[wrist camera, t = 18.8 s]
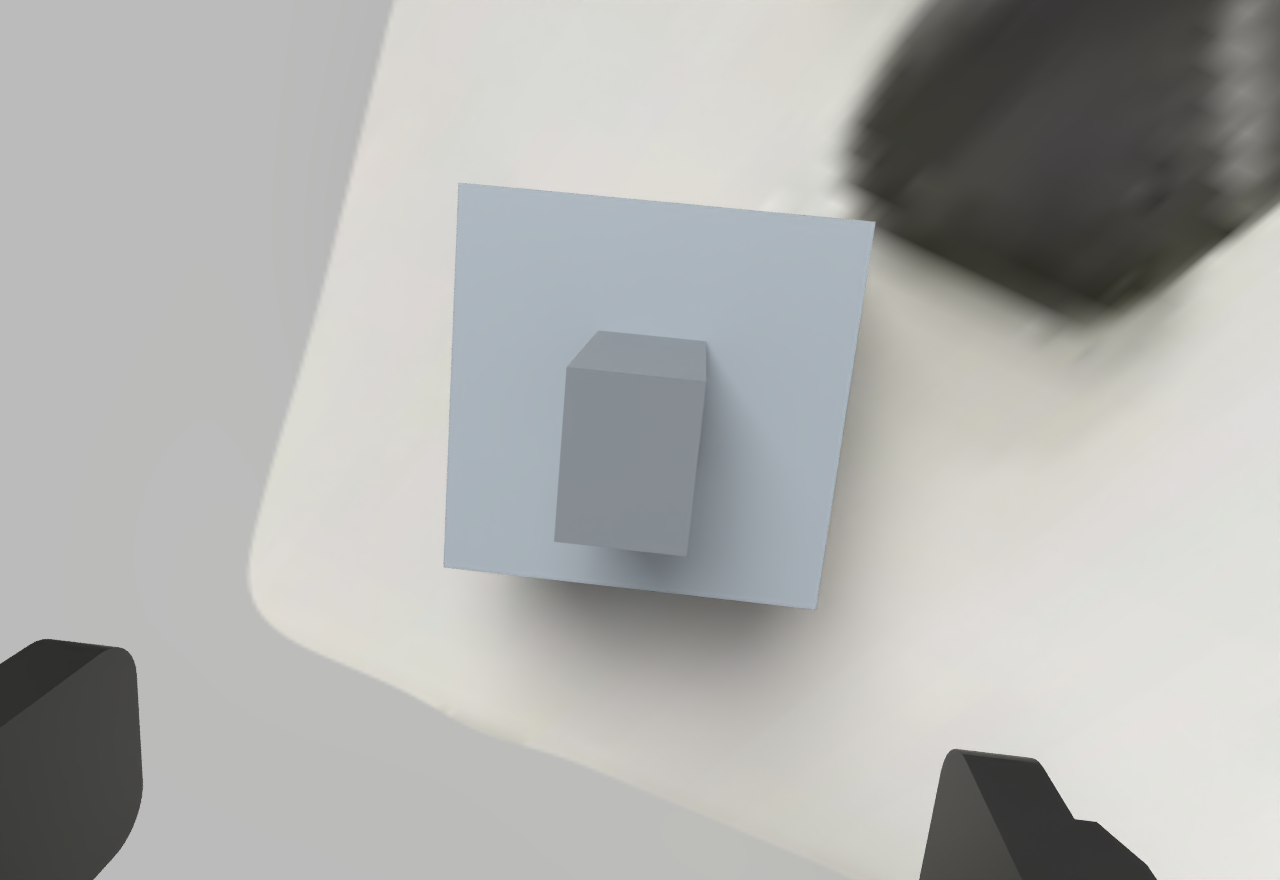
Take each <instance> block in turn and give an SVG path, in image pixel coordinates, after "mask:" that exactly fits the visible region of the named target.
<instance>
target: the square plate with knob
mask: <svg viewBox="0 0 1280 880" xmlns="http://www.w3.org/2000/svg"><path fill="white" fill-rule="evenodd" d="M874 228H875V222H870V221H859V220H849V219H838V218H827V217H817V216H806V215H796V214H785V213H774V212H764V211H753V210H743V209H732V208H722V207H711V206H700V205H690V204H679V203H669V202H658V201H647V200H637V199H626V198H616V197H605V196H594V195H584V194H573V193H563V192H552V191H541V190H531V189H520V188H510V187H499V186H488V185H478V184H467V183H458V208H457V233H456V259H455V285H454V311H453V337H452V362H451V388H450V414H449V440H448V466H447V491H446V517H445V543H444V567H445V568H453V569H462V570H471V571H480V572H489V573H497V574H506V575H515V576H524V577H533V578H542V579H550V580H559V581H568V582H577V583H586V584H594V585H603V586H612V587H621V588H630V589H638V590H647V591H656V592H665V593H674V594H682V595H691V596H700V597H709V598H718V599H726V600H735V601H744V602H753V603H762V604H770V605H779V606H788V607H797V608H806V609H814V610H816V606H817V600H818V593H819V586H820V580H821V573H822V567H823V560H824V554H825V547H826V541H827V534H828V528H829V521H830V515H831V508H832V502H833V495H834V489H835V482H836V476H837V469H838V463H839V456H840V449H841V443H842V436H843V430H844V423H845V417H846V410H847V404H848V397H849V391H850V384H851V378H852V371H853V365H854V358H855V352H856V345H857V339H858V332H859V325H860V319H861V312H862V306H863V299H864V293H865V286H866V280H867V273H868V267H869V260H870V254H871V247H872V241H873V234H874Z"/></svg>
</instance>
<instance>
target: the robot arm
mask: <svg viewBox="0 0 1280 880" xmlns="http://www.w3.org/2000/svg"><path fill="white" fill-rule="evenodd" d="M137 690H138V689H137V674H136V667H135V663H134V660H133V658H132V656H131V655H130V654H129V652H128V651H126V650H125V649H123V648H119V647H111V646H103V645H95V644H86V643H78V642H70V641H61V640H52V639H42V640H39V641H36V642H34V643H32V644H30V645H29V646H27V647H26V648H24V649H23V650H21V651H19V652H18V653H17V654H15V655H13V656H12V657H10V658H9V659H7V660H6V661H4V662H3V663H1V664H0V880H93V879H94V878H95V877H96V876H97V875H98V874H99V873H100V872H101V871H102V869H103V868H104V867H105V866H106V865H107V864H108V863H109V862H110V861H111V860H112V858H113V857H114V856H115V855H116V854H117V853H118V851H119V850H120V849H121V847H122V846H123V844H124V843H125V841H126V839H127V838H128V836H129V834H130V832H131V830H132V828H133V825H134V823H135V820H136V817H137V814H138V811H139V808H140V803H141V798H142V790H143V778H142V760H141V743H140V726H139V707H138V691H137ZM919 880H1157V879H1156V878H1155V876H1154V875H1153V873H1152V872H1151V870H1150V869H1149V867H1148V866H1147V865H1146V864H1145V863H1144V862H1143V861H1142V860H1140V859H1139V858H1138V857H1137V856H1136V855H1135V854H1133V853H1132V852H1131V851H1130V850H1129V849H1128V848H1126V847H1125V846H1124V845H1123V844H1122V843H1121V842H1119V841H1118V840H1117V839H1116V838H1115V837H1113V836H1112V835H1111V834H1110V833H1109V832H1108V831H1106V830H1105V829H1104V828H1103V827H1102V826H1101V825H1099V824H1098V823H1097V822H1092V821H1084V820H1075V819H1074V818H1073V816H1072V814H1071V813H1070V811H1069V809H1068V808H1067V806H1066V804H1065V803H1064V801H1063V799H1062V798H1061V796H1060V794H1059V793H1058V791H1057V790H1056V788H1055V786H1054V785H1053V783H1052V781H1051V780H1050V778H1049V776H1048V775H1047V773H1046V771H1045V770H1044V768H1043V767H1042V765H1041V764H1040V763H1039V762H1038V761H1037V760H1036V759H1033V758H1027V757H1019V756H1010V755H1002V754H993V753H985V752H977V751H968V750H960V749H953V750H951V751H950V752H949V753H948V754H947V756H946V758H945V760H944V763H943V766H942V770H941V774H940V779H939V784H938V789H937V794H936V799H935V804H934V809H933V814H932V819H931V824H930V829H929V834H928V839H927V844H926V849H925V854H924V859H923V864H922V869H921V874H920V879H919Z"/></svg>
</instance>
